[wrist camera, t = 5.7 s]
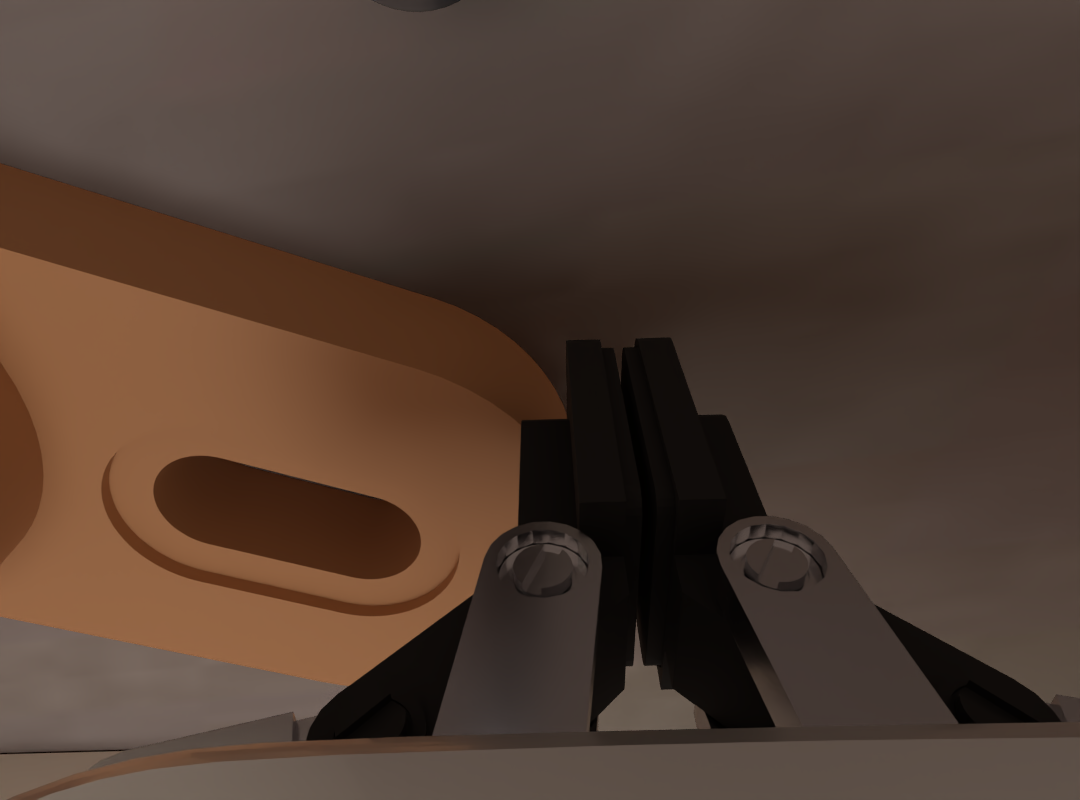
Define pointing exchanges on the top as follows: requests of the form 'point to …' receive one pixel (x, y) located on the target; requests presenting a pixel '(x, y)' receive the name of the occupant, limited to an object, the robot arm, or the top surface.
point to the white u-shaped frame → (42, 769)
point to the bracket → (240, 440)
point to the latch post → (416, 4)
